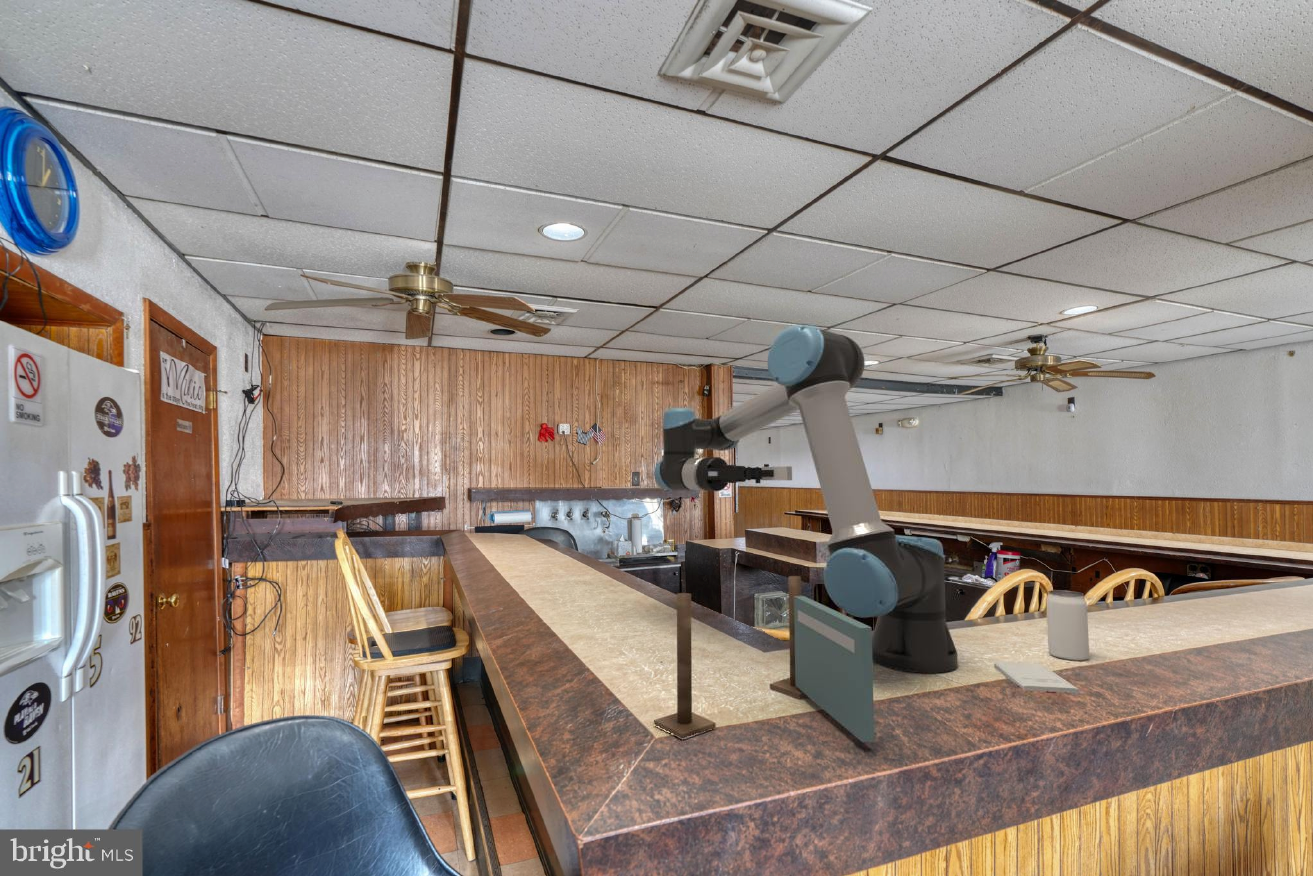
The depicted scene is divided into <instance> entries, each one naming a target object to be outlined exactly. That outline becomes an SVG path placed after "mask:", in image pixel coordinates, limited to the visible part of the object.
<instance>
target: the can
mask: <svg viewBox="0 0 1313 876" xmlns="http://www.w3.org/2000/svg"><path fill="white" fill-rule="evenodd" d="M1045 605H1046V624H1047V627H1046V628H1047V647H1048V653H1049V654H1050V656H1052V657H1054V658H1056V659H1060V660H1066V661H1073V662H1085V661H1087V660H1088V659H1089V658H1090V645H1089V643H1090V642H1089V624H1088V623H1089V622H1088V606H1087V605H1088V604H1087V601H1086V600H1085V598H1084V593H1082V592H1078V591H1071V590H1065V589H1064V590H1063V589H1062V590H1061V589H1054V590H1053V589H1052V590H1048V595H1047V598H1046V604H1045Z"/></svg>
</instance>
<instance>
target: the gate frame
mask: <svg viewBox="0 0 1313 876" xmlns="http://www.w3.org/2000/svg"><path fill="white" fill-rule="evenodd" d="M794 596H802V577H801V576H799V575H789V576H788V622H789V623H788V625H789V626H788V627H789V629H788V634H789V636H788V637H789V677H787V678H784V679H781V680H778V681H774V682H772V683H769V689H770V690H772V691H775V692H778V693H781V694H784V695H786V696H789V695H790V697H791V696H792V698H794V697H795V699H797V700H801V699H805V698H809V697H808V696H807V695H806V694H805V693H804V692H802V691H801V690H800V689H799V688H798V687H796V686H795V626H794ZM692 656H693V655H692V594H691V593H688V592H680V593H679V592H678V593H676V688H677V689H676V691H677V692H676V693H677V694H676V696H677V697H676V700H677V701H676V706H677V707H676V710H677V712H676V713H675V712H674V713H672V714H669V715H665V716H663V717H659V718H656V719H653V725H654V724H655V725H656V726H659V727H660V728H662V729H665V730H666V731H669V732H670V733H673V734H674V735H677V736H679V737H680V738H685V737H687V736H691V735H694V734H696V733H701V732H704V731H708V730H709V729H714V728H716V725H717V723H716V722H714V721H712V720H711V719H708V718H706V717H704V716H702V715H699V714H697V713H695V712H693V705H692V704H693V701H692V700H693V699H692V697H693V696H692V695H693V694H692V693H693V691H692V690H693V689H692V688H693V686H692V685H693V683H692V682H693V681H692V679H693V677H692V673H693V672H692V671H693V670H692V669H693V667H692V663H693V661H692ZM716 729H717V728H716ZM714 730H715V729H714ZM708 732H709V731H708Z"/></svg>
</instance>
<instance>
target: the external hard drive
mask: <svg viewBox="0 0 1313 876" xmlns="http://www.w3.org/2000/svg"><path fill="white" fill-rule="evenodd" d="M993 666H994V669H995V670H996V671H998V673H1000V674H1001V675H1002V676H1004V677H1005V678H1006V679H1007V678H1008V680H1009V679H1010V680H1011V681H1013V682H1014V683H1016V684H1017V685H1018V686H1020V687H1021V688H1022V689H1023V690H1039V691H1054V692H1067V693H1072V694H1071V695H1080V689H1079V688H1078V687H1076V686H1074V684H1071V683H1070V682H1069V681H1067V680H1065V679H1064V678H1063V677H1061V676H1060V675H1058V674H1056V673H1055V671H1052V670H1051V669H1049V668H1048V667H1047V666H1045V664H1040V663H1039V664H1038V663H1020V662H1018V663H1017V662H1002V661H999V662H997V661H996V662H994V664H993ZM1010 680H1009V681H1010ZM1011 681H1010V682H1011ZM1014 683H1013V684H1014ZM1073 693H1074V694H1073Z"/></svg>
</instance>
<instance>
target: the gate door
mask: <svg viewBox="0 0 1313 876" xmlns="http://www.w3.org/2000/svg"><path fill="white" fill-rule="evenodd" d="M794 626H795V686H796V687H798V688H799V689H800V690H801V691H802V692H804V693H805V694H806V695H807V696H808V697H807V698H809V699H811V700H812V701H813V702H814V703H815V704H817V706H819V707H820V708H821V709H822V710H824V711H825V712H826V713H827V714H829V716H831V717H832V718H833V719H834V720H836V722H837V723H839V724H840V725H841V726H843V728H845V729H846V730H847V731H849V732H850V733H851V734H852V735H853V736H855V737H856V738H857V739H858V740H859V741H860V742H862V743H869V742H872V743H873V742H875V712H874V710H875V709H874V707H875V706H874V704H875V703H874V673H873V672H874V669H873V665H874V664H873V660H872V636H873V632H872V631H873V629H872V627H871V626H870V625H867V624H865V623H863V622H861V621H858V620H857V619H854V618H852V617H850V616H848V615H846V614H843V613H841V612H839V611H837V610H835V609H832V608H830V607H828V606H826V605H825V604H822V603H819V602H818V601H815V600H814V599H811V598H809V597H807V596H805V595H801V596H794Z"/></svg>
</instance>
